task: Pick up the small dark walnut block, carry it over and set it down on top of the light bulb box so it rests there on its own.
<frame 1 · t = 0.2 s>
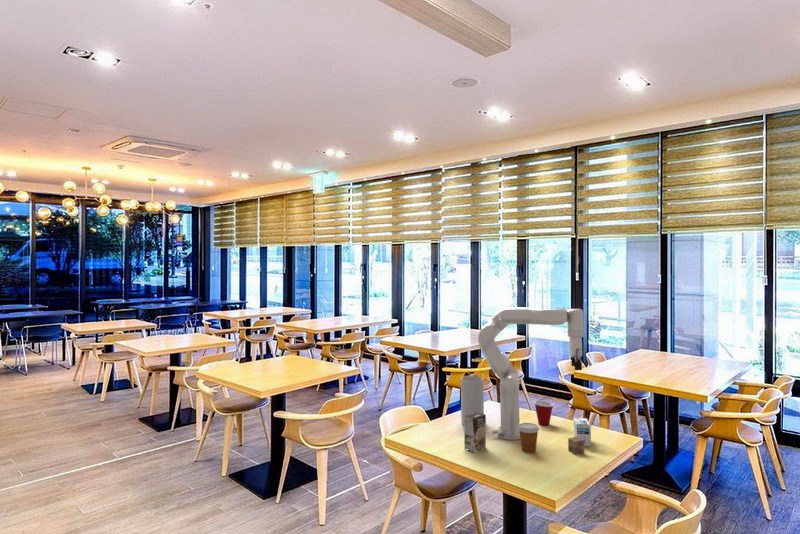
hand: (576, 368, 246), 37 cm above the table, tool pointing down, fingers open, 9 cm apart
walnut block: (576, 451, 232), on the table
coffee box: (475, 449, 238), on the table
cylinder vase: (472, 423, 277), on the table
disposable coffee cup: (528, 451, 234), on the table
light bulb box: (582, 443, 244), on the table
plastic cup: (544, 424, 273), on the table
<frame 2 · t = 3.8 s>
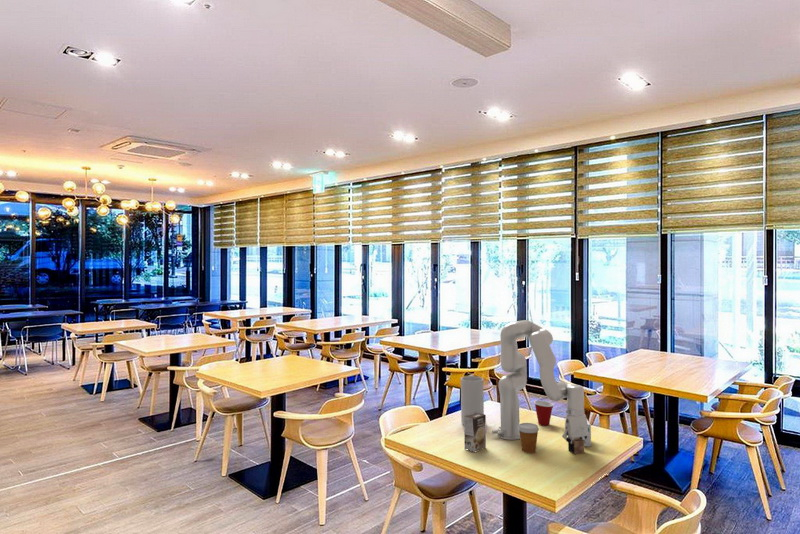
hand: (576, 450, 232), 1 cm above the table, tool pointing down, fingers closed on walnut block, 5 cm apart
walnut block: (576, 451, 232), on the table, touching gripper
everything else where it was.
when the fingers open (12 cm above the table, at t = 9.5 s): walnut block stays where it is, resting on light bulb box.
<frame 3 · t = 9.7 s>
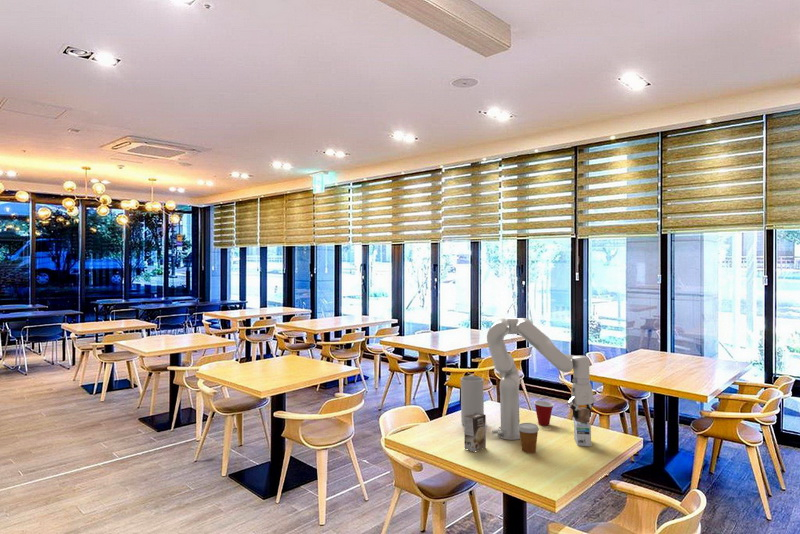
hand: (582, 416, 244), 13 cm above the table, tool pointing down, fingers open, 7 cm apart
walnut block: (582, 420, 244), point 11 cm above the table, touching light bulb box
light bulb box: (582, 443, 244), on the table, touching walnut block
everything else where it was.
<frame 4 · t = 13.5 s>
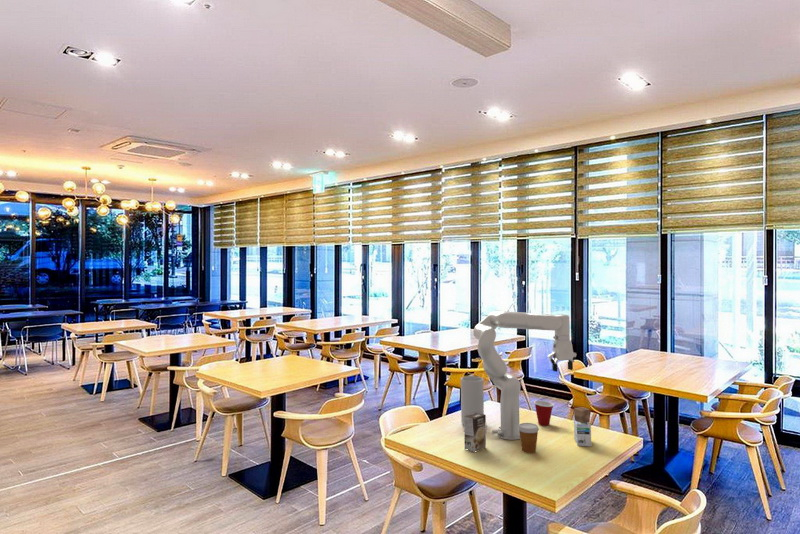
hand: (562, 370, 261), 32 cm above the table, tool pointing down, fingers open, 9 cm apart
nothing on the table moved.
at the end: walnut block inside the target area on the light bulb box (0.1 cm from its centre), point 11.0 cm above the light bulb box's base; walnut block tilted 0°; the gripper is holding nothing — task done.
